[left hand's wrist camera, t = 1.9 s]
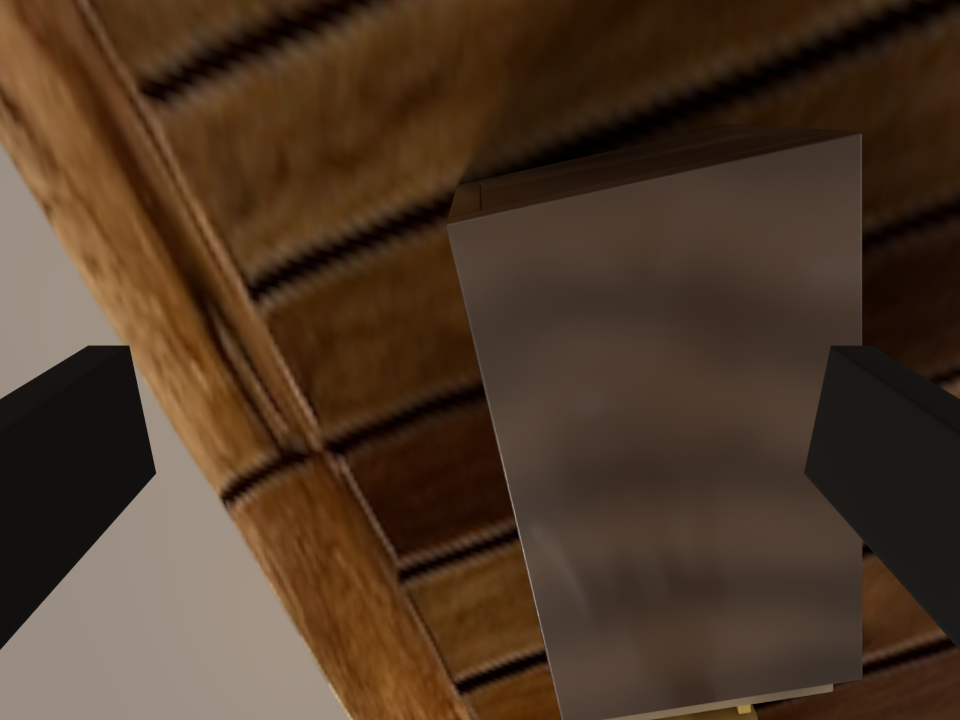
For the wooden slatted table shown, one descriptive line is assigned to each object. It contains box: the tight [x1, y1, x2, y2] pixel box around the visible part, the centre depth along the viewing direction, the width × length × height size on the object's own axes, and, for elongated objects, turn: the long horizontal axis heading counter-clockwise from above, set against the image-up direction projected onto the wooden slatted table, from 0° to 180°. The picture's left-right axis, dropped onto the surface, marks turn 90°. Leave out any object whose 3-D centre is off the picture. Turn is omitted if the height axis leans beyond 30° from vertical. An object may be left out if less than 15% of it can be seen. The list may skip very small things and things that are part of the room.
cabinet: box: [446, 124, 862, 720], centre depth 26 cm, size 20×12×10 cm, turn 12°
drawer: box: [605, 684, 833, 720], centre depth 28 cm, size 24×10×8 cm, turn 12°
